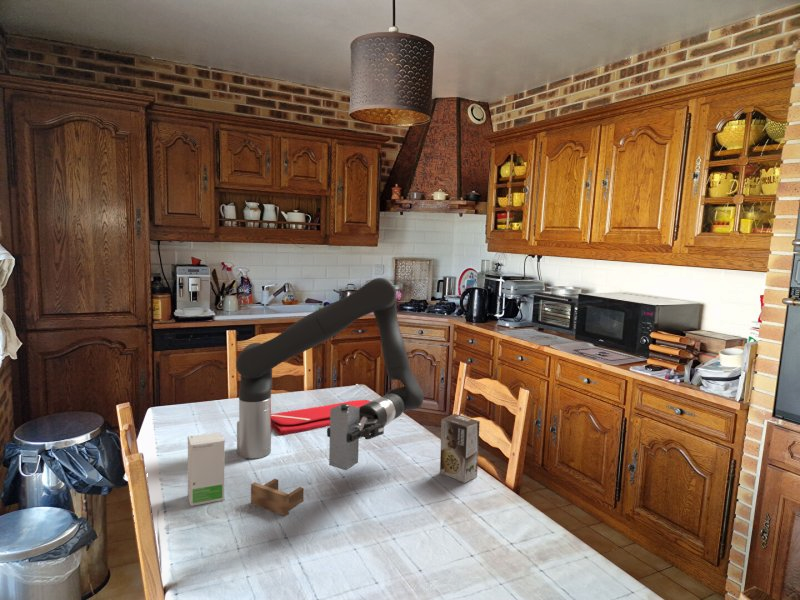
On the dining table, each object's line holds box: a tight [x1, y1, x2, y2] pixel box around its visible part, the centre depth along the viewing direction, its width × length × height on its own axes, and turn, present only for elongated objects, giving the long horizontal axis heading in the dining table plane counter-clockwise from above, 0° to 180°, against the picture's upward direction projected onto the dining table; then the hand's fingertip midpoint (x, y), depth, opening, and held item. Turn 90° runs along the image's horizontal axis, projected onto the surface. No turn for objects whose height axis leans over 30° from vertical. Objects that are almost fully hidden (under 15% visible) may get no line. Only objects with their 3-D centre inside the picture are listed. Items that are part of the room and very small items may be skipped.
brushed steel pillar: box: [328, 402, 360, 471], centre depth 124 cm, size 5×5×15 cm
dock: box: [250, 478, 305, 517], centre depth 128 cm, size 11×8×5 cm
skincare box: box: [186, 432, 226, 507], centre depth 129 cm, size 8×7×16 cm
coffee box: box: [439, 413, 481, 483], centre depth 145 cm, size 9×6×16 cm
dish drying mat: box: [271, 399, 372, 436], centre depth 187 cm, size 16×41×4 cm, turn 125°
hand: (338, 435), depth 122 cm, fingers closed on brushed steel pillar, 5 cm apart
